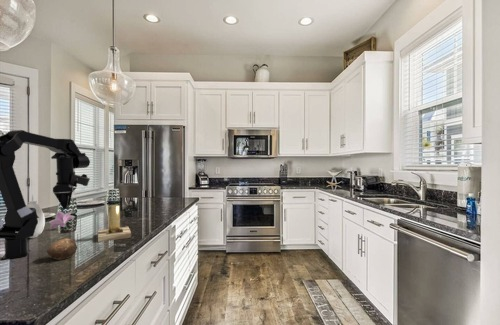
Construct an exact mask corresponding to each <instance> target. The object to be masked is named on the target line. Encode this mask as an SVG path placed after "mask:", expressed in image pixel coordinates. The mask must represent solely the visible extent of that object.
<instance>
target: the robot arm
mask: <svg viewBox="0 0 500 325" xmlns="http://www.w3.org/2000/svg"><path fill="white" fill-rule="evenodd" d="M23 144H26V145H31V146H36V147H42V148H46V149H48V150H49V151H51V152H54V155H52V156H51V157H50V158H51V160H56V162H55V164H56V172H55V176H56V181H57V182H56V185H54V186H53V187H52V193H53V194H54V196H55V197H56V199H57V201H58V202H59V203H60V206H61V207H62V209H63V210H66V209H68V206H69V205H71V200H72V196H73V193H74V191H75V190H76V189H77V187H78V185H82V186H84V187H88V185H89V182H90V177H88V175H87V174H85V173H83V174H81V175H78V174H76V172H75V170H76V169H86V168H88V167H89V166H90V164H91V160H90V158H89V156H87V155H86V153H85V152H81V151H80V149H79V148H78V146H77V144H76V143H75V140H74V139H72V138H53V137H49V136H45V135H41V134H37V133H33V132H29V131H26V130H22V129H18V130H17V129H16V130H15V129H13V130H10V131H8V132H6V133H5V134H2V135H0V195H1V197H2V200H3V202H4V206H5V208H6V213H5V216H4V223H5V224H4V225H3V226H2V227H1V228H0V240H1V239H2V240H4V254H3V256H2V257H0V260H2V261H3V260H8V259H17V258H22V257H27V256H28V255H29V254H30V252H31V249H28V239H29V238H28V237H31V236H33V235H34V232H35V229H36V226H37V224H38V219H37V218H39V217H38V216H37V213H36V209H35V208H28V207H27V205H26V202H25V199H24V195H23V193H22V190H21V187H20V185H19V182H18V178H17V176H16V175H17V174H16V173H15V172H16V171H15V169H14V163H15V161H16V154H15V153H16V152H17V151H18V150H20V149H21V148H22V146H23Z"/></svg>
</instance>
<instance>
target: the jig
mask: <svg viewBox="0 0 500 325" xmlns="http://www.w3.org/2000/svg"><path fill="white" fill-rule="evenodd" d="M97 232H98V233H97V242H98V243H102V242H107V241H115V240H122V239H129V238H132V231H131V229H130V228H129V226H120V233H112V234H108V228H104V229H98V231H97Z"/></svg>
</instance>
